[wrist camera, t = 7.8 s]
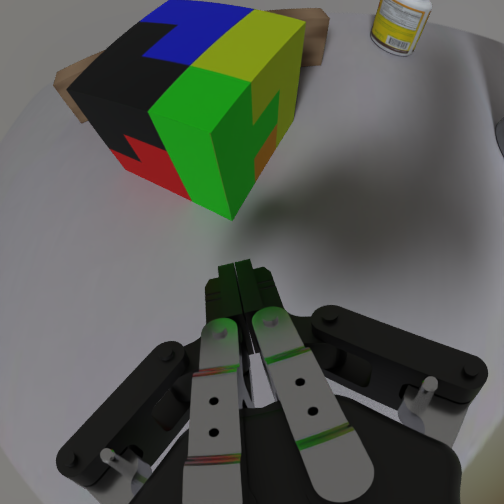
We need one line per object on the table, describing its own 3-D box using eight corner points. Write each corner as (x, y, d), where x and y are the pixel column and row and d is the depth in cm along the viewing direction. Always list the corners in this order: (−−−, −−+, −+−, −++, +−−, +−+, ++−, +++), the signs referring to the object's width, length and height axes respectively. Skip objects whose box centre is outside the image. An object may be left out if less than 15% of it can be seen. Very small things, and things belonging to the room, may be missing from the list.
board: (313, 53, 25) (320, 8, 19) (320, 65, 25) (329, 18, 19) (83, 109, 24) (57, 72, 18) (81, 123, 24) (53, 85, 18)
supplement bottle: (391, 30, 27) (411, -29, 17) (420, 57, 26) (448, -5, 16) (359, 32, 26) (377, -34, 16) (389, 60, 25) (416, -10, 15)
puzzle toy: (192, 86, 24) (170, -1, 15) (293, 121, 23) (306, 21, 13) (125, 170, 22) (66, 89, 12) (232, 221, 21) (210, 133, 11)
